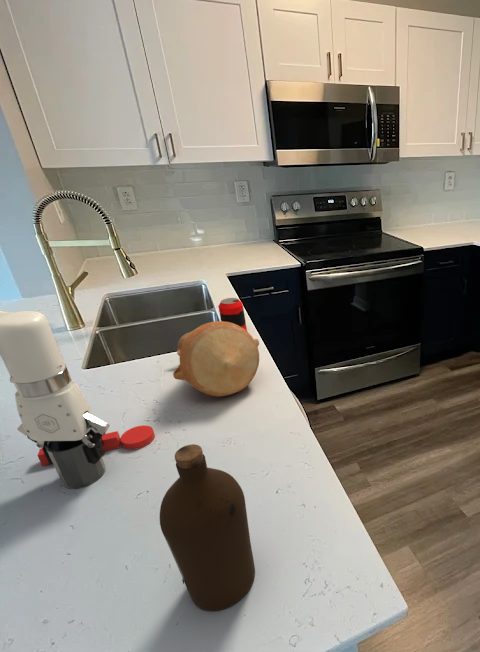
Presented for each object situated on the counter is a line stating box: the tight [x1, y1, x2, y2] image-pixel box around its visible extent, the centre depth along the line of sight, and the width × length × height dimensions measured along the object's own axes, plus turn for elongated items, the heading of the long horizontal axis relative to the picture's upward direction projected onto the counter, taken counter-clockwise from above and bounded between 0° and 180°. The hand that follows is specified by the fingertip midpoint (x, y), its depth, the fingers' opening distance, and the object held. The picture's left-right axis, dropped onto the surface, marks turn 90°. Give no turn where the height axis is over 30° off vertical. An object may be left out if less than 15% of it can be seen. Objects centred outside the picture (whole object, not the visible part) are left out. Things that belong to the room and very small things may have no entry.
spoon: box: [36, 424, 156, 467], centre depth 89 cm, size 21×6×3 cm, turn 114°
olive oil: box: [159, 443, 256, 612], centre depth 58 cm, size 11×11×25 cm
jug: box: [172, 320, 260, 397], centre depth 112 cm, size 20×19×30 cm
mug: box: [45, 427, 107, 490], centre depth 83 cm, size 11×7×9 cm
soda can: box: [218, 297, 248, 332], centre depth 139 cm, size 8×8×12 cm
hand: (77, 458), depth 81 cm, fingers closed on mug, 7 cm apart
